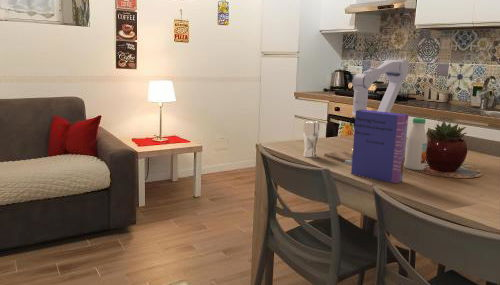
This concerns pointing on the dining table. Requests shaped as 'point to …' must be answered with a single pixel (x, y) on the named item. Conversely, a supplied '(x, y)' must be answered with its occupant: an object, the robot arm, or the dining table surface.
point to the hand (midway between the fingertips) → (357, 133)
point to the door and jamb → (341, 156)
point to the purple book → (379, 145)
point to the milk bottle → (416, 146)
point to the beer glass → (311, 138)
